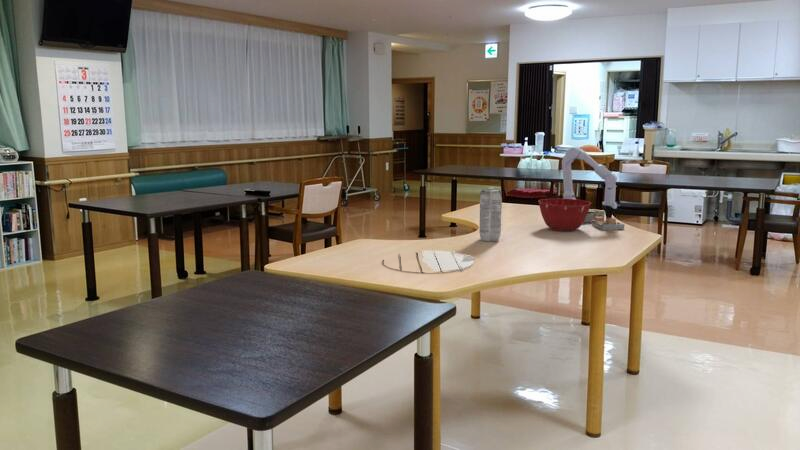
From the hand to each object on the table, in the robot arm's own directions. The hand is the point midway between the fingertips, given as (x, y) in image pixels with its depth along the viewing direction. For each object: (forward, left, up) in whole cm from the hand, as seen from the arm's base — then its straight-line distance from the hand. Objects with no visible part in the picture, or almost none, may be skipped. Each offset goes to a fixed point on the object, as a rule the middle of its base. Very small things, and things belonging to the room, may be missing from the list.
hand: (608, 219), depth 353 cm
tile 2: (0, -3, -1) cm, 3 cm away
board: (-3, 0, -4) cm, 5 cm away
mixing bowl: (-29, -6, -4) cm, 29 cm away
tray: (-3, -7, -4) cm, 8 cm away
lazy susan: (-115, -74, -4) cm, 136 cm away
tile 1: (-5, +1, -1) cm, 5 cm away
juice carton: (-77, -31, -4) cm, 82 cm away
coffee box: (+3, +19, -1) cm, 20 cm away
